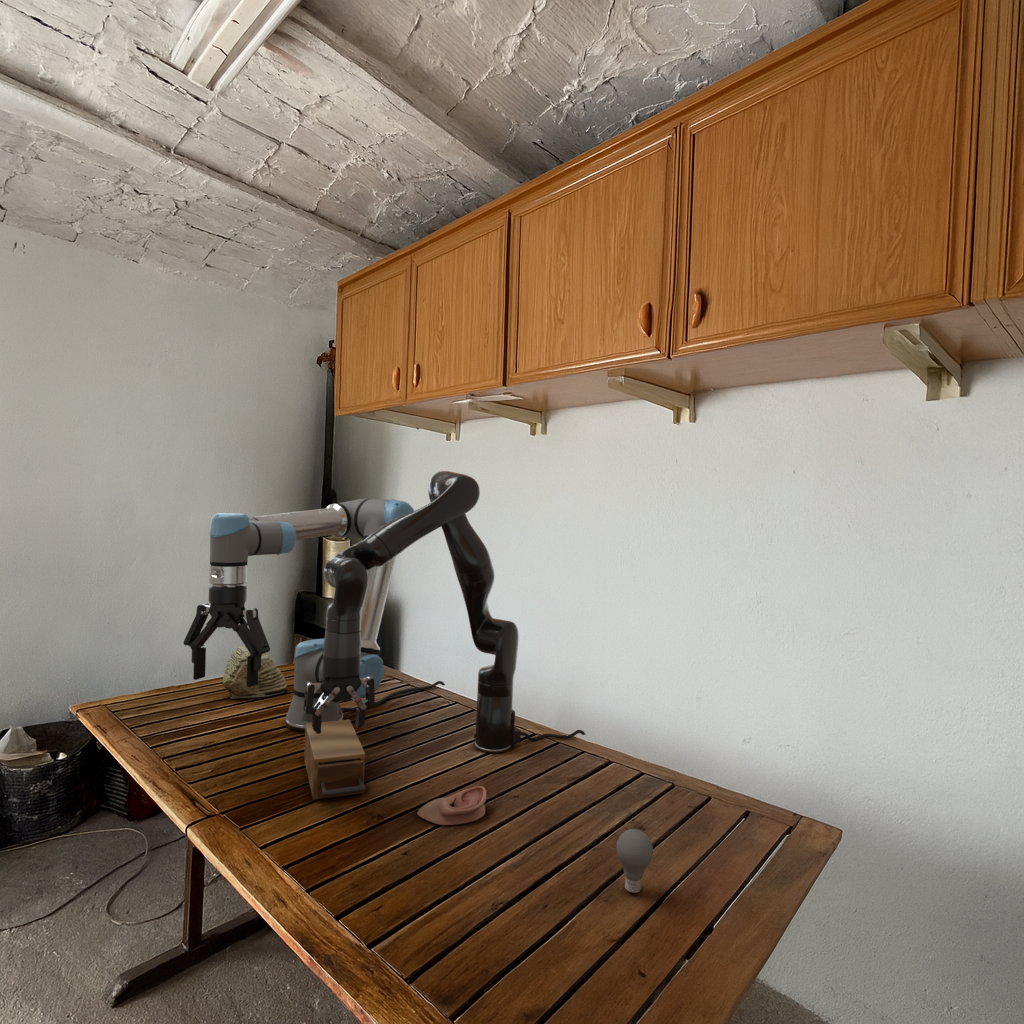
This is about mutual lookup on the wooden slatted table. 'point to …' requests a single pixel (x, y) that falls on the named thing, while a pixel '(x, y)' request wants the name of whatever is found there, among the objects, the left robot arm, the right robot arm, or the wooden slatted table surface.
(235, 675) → the fossil
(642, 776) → the wooden slatted table surface
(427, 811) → the anatomical model
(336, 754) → the cabinet
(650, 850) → the light bulb
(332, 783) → the drawer
